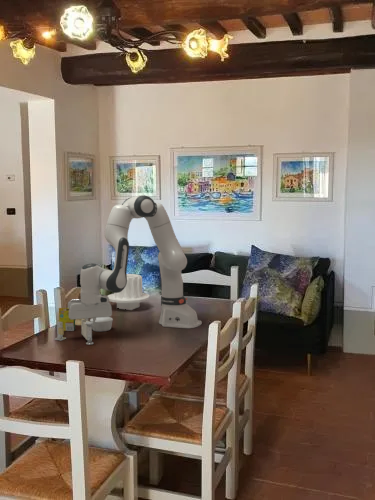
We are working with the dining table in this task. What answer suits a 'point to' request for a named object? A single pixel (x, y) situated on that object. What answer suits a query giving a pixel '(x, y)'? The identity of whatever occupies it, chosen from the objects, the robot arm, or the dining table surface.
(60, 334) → the post
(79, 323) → the hand bell
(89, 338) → the gate post
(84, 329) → the gate
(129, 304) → the ribbed cylinder on disc
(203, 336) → the dining table surface
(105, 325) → the ramekin
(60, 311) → the crayon box
